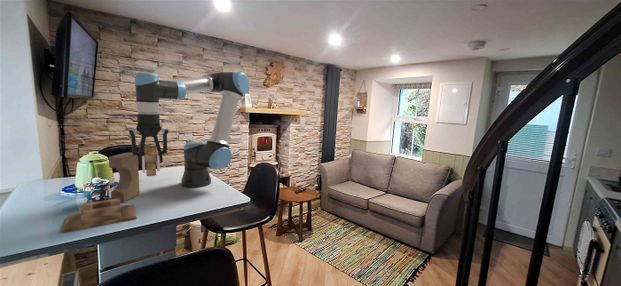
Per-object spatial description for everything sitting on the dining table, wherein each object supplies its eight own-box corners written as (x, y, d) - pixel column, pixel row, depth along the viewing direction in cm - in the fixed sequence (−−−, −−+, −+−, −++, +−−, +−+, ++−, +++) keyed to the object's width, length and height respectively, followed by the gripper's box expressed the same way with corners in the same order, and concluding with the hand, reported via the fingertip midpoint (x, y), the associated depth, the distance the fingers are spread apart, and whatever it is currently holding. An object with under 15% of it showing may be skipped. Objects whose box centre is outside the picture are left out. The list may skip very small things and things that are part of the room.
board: (133, 206, 107) (133, 195, 106) (136, 218, 96) (135, 206, 95) (68, 217, 95) (67, 204, 94) (62, 232, 84) (61, 218, 83)
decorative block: (123, 202, 110) (120, 157, 108) (110, 202, 110) (107, 156, 108) (140, 194, 121) (138, 152, 119) (128, 193, 121) (126, 152, 119)
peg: (156, 173, 107) (155, 144, 106) (158, 175, 104) (157, 146, 102) (144, 174, 105) (142, 145, 103) (145, 177, 101) (144, 147, 100)
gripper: (171, 113, 109) (173, 166, 112) (120, 112, 98) (124, 171, 102) (174, 114, 103) (176, 170, 106) (121, 113, 92) (125, 176, 96)
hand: (151, 171), depth 104 cm, fingers closed on peg, 4 cm apart
